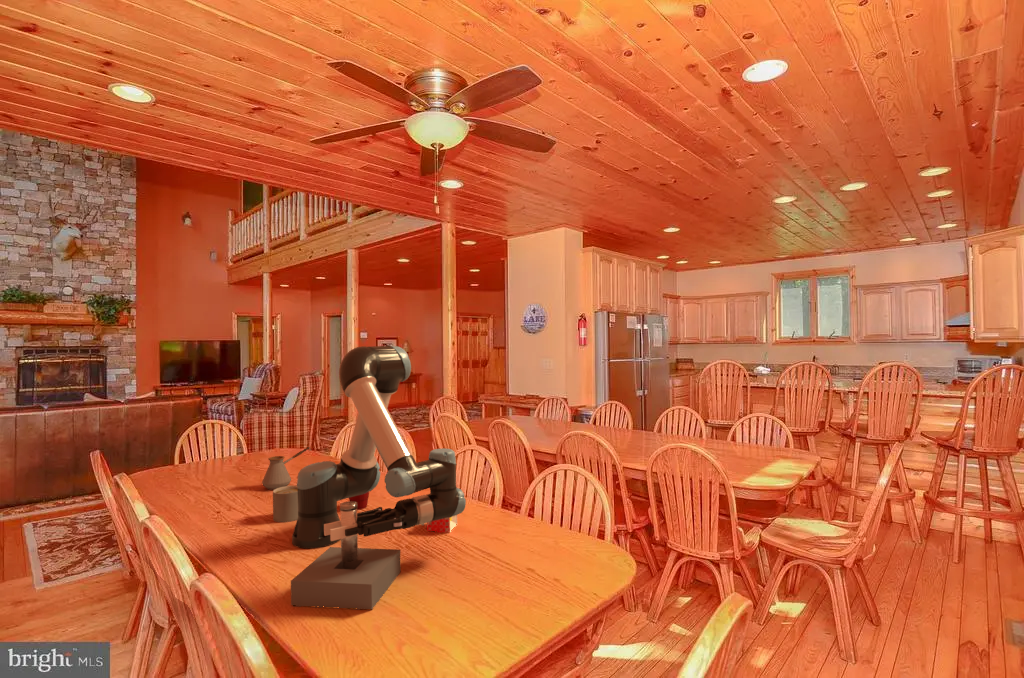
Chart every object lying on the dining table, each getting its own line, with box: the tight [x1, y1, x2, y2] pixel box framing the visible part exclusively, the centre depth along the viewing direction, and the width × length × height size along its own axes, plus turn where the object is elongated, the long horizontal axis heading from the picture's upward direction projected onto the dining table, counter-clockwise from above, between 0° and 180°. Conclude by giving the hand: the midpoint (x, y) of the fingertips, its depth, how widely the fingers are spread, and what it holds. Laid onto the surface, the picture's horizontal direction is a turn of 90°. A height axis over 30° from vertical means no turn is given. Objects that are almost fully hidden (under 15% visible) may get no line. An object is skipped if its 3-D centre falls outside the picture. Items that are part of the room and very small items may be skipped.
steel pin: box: [339, 500, 359, 562], centre depth 132 cm, size 4×4×14 cm
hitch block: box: [290, 546, 402, 610], centre depth 133 cm, size 20×20×6 cm
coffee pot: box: [261, 446, 312, 491], centre depth 228 cm, size 21×12×15 cm, turn 139°
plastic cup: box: [348, 491, 370, 511], centre depth 196 cm, size 11×11×12 cm
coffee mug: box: [272, 485, 298, 523], centre depth 188 cm, size 13×10×10 cm
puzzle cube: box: [426, 515, 458, 533], centre depth 174 cm, size 8×8×8 cm
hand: (327, 532), depth 129 cm, fingers closed on steel pin, 4 cm apart
